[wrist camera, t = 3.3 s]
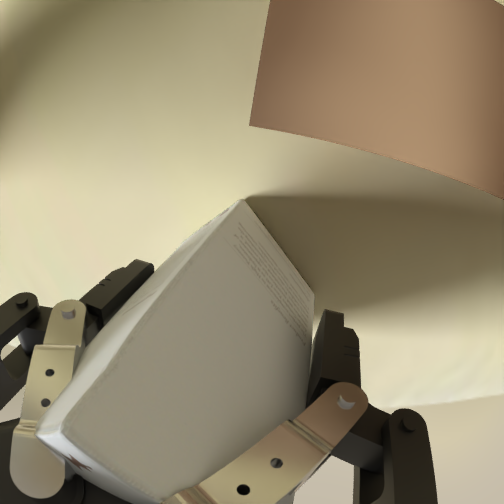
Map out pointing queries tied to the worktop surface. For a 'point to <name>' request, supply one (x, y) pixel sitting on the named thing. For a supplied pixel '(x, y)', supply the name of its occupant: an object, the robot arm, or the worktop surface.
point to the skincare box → (189, 366)
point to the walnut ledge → (390, 81)
